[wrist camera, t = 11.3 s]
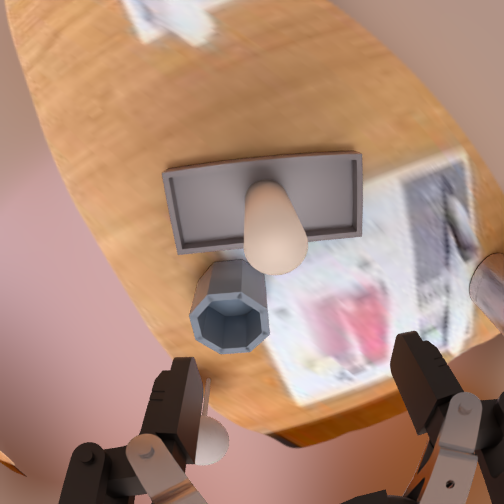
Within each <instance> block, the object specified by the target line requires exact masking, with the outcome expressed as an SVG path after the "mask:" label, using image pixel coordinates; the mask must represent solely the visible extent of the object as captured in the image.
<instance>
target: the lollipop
mask: <svg viewBox="0 0 504 504" xmlns="http://www.w3.org/2000/svg"><path fill="white" fill-rule="evenodd" d="M210 383H211V379H210V378H207V379H206V387H205V395H204V404H203V412H202V415H201V418H200V426H199V434H198V442H197V450H196V458H195V464H196V465H210V464H213V463H215V462H217V461H219V460H220V459H221V458H222V457H223V456H224V455H225V454H226V452H227V449H228V446H229V436H228V433H227V431H226V429H225V428H224V427H223V426H222V424H221V423H219V422H218V421H217V420H215V419H213V418H211V417H208V416H207V410H208V401H209V392H210Z"/></svg>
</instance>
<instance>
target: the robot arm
mask: <svg viewBox="0 0 504 504" xmlns="http://www.w3.org/2000/svg"><path fill="white" fill-rule="evenodd" d="M470 297H471V299H472V301H473V302H474V303H475V304H476V305H477V306H478V307H479V308H480V309H481V310H482V312H483V313H484V314H485V315H486V316H487V317H488V318H489V319H490V321H491V322H492V323H493V324H494V325H495V326H496V327H497V329H498V330H499V331H500V332H501V333H502V334H503V336H504V255H503V254H501V253H495V254H492V255H490V256H489V257H487V258H486V259H485V260H484V261H483V262H482V263H481V264H480V265H479V267H478V268H477V270H476V271H475V273H474V275H473V277H472V280H471V283H470ZM390 368H391V373H392V376H393V378H394V380H395V383H396V385H397V387H398V389H399V392H400V394H401V396H402V398H403V401H404V403H405V405H406V408H407V410H408V413H409V415H410V417H411V420H412V422H413V425H414V427H415V429H416V432H417V434H418V435H421V434H424V433H428V435H429V439H428V440H427V443H426V446H425V449H424V451H423V454H422V457H421V460H420V462H419V465H418V467H417V469H416V472H415V474H414V477H413V479H412V481H411V482H410V484H409V486H408V487H407V489H406V491H405V493H404V495H403V496H394V495H387V493H386V490H382V491H378V492H374V493H370V494H366V495H362V496H357V497H355V498H353V499H350V500H348V501H346V502H343V503H341V504H465V503H466V500H467V497H468V494H469V491H470V487H471V484H472V480H473V476H474V473H475V469H476V465H477V461H478V463H479V465H480V469H481V471H482V474H483V477H484V479H485V483H486V486H487V489H488V492H489V495H490V499H491V502H492V504H504V392H503V393H502V394H501V395H500V397H499V398H498V399H494V400H479V399H478V397H476V396H475V395H474V394H471V393H468V392H464V391H463V389H462V388H461V386H460V384H459V382H458V381H457V379H456V377H455V376H454V374H453V373H452V371H451V369H450V368H449V366H448V365H447V363H446V361H445V360H444V358H442V355H441V353H440V352H439V350H438V349H437V347H435V346H434V345H433V344H431V343H430V342H429V341H422V339H421V338H420V336H419V334H418V333H417V332H416V331H411V332H406V333H401V334H398V335H397V336H396V340H395V344H394V349H393V353H392V357H391V361H390ZM202 403H203V384H202V380H201V377H200V374H199V371H198V368H197V365H196V361H195V359H194V357H175V358H174V359H173V362H172V366H171V370H169V371H162V372H161V373H160V374H159V376H158V377H157V378H156V379H155V382H154V385H153V388H152V393H151V395H150V401H149V403H148V406H147V409H146V413H145V417H144V421H143V424H142V428H141V431H140V434H139V435H138V436H136V437H134V438H133V439H132V440H131V441H130V442H129V443H128V445H126V446H123V447H118V448H112V449H105V450H103V449H102V448H101V447H100V446H99V445H98V444H96V443H92V442H87V443H83V444H81V445H79V446H78V447H77V448H76V449H75V450H74V452H73V453H72V457H71V460H70V463H69V467H68V470H67V473H66V477H65V481H64V484H63V488H62V492H61V496H60V500H59V504H134V500H135V495H142V494H148V495H149V497H150V498H151V501H152V503H151V504H208V503H207V502H206V501H205V499H204V498H203V497H202V496H201V494H200V493H199V492H198V491H197V489H196V488H195V487H194V486H193V484H192V483H191V481H190V480H189V479H188V477H187V476H186V475H185V468H186V464H195V458H196V450H197V442H198V434H199V426H200V418H201V410H202ZM474 452H475V454H474Z"/></svg>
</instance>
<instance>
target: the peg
mask: <svg viewBox="0 0 504 504" xmlns="http://www.w3.org/2000/svg"><path fill="white" fill-rule="evenodd" d="M307 250H308V239H307V236H306V233H305V231H304V229H303V227H302V225H301V222H300V220H299V218H298V216H297V214H296V212H295V210H294V208H293V206H292V204H291V201H290V199H289V197H288V195H287V193H286V191H285V189H284V188H283V187H282V186H281V185H280V184H279V183H278V182H276V181H273V180H260V181H257V182H255V183H254V184H253V185H251V187H250V188H249V189H248V191H247V193H246V196H245V221H244V253H245V256H246V258H247V260H248V262H249V263H250V265H251V266H252V267H254V268H255V269H256V270H258V271H259V272H262V273H264V274H268V275H282V274H286V273H288V272H290V271H292V270H294V269H295V268H297V267H298V266H299V265H300V264H301V263H302V261H303V260H304V258H305V256H306V254H307Z"/></svg>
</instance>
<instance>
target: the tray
mask: <svg viewBox="0 0 504 504" xmlns="http://www.w3.org/2000/svg"><path fill="white" fill-rule="evenodd" d="M162 177H163V183H164V188H165V194H166V199H167V204H168V209H169V214H170V219H171V224H172V229H173V234H174V239H175V244H176V248H177V253H178V255H182V254H192V253H202V252H211V251H221V250H231V249H241V248H244V221H245V196H246V193H247V191H248V189H249V188H250V187H251V185H253V184H254V183H255V182H257V181H260V180H273V181H276V182H278V183H279V184H280V185H281V186H282V187H283V188H284V189H285V191H286V193H287V195H288V197H289V199H290V201H291V204H292V206H293V208H294V210H295V212H296V214H297V216H298V218H299V220H300V222H301V225H302V227H303V229H304V231H305V233H306V236H307V239H308V242H311V241H321V240H331V239H341V238H352V237H362V211H363V173H362V154H361V153H359V152H356V151H335V152H315V153H299V154H285V155H273V156H263V157H252V158H243V159H234V160H226V161H218V162H210V163H203V164H196V165H189V166H182V167H176V168H170V169H167V170H166V171H164V172H163V173H162Z"/></svg>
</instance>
